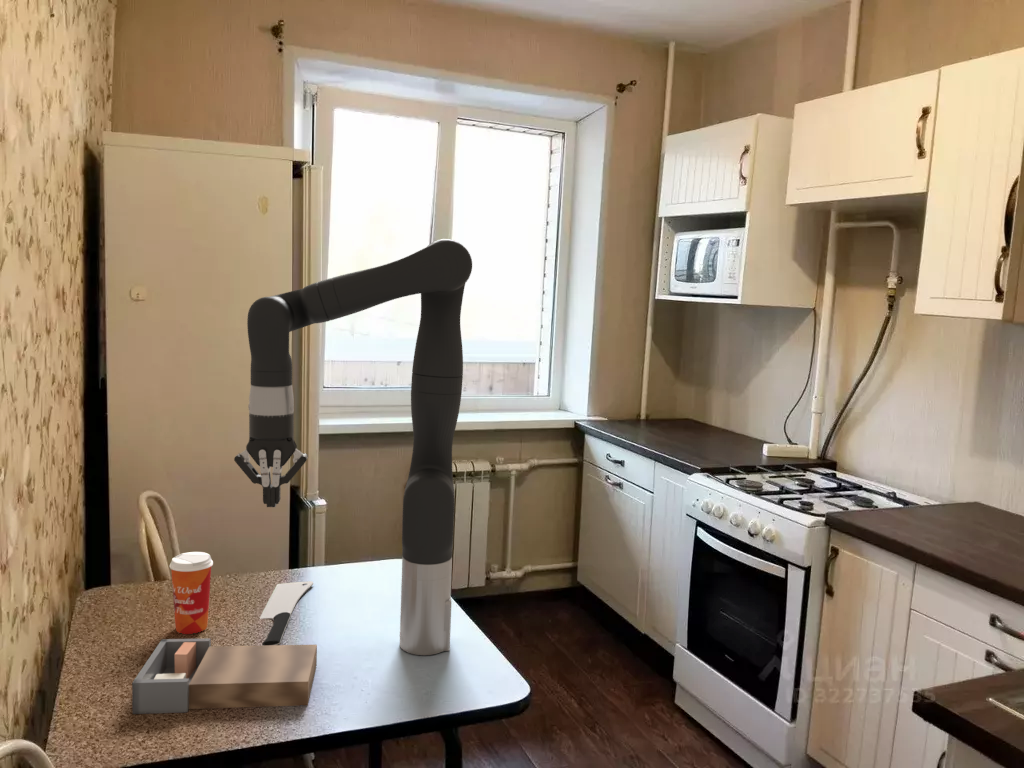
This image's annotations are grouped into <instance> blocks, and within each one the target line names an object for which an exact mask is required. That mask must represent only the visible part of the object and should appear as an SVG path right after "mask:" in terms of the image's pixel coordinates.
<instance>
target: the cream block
mask: <svg viewBox="0 0 1024 768" xmlns="http://www.w3.org/2000/svg"><path fill="white" fill-rule="evenodd" d="M154 679H186V673H171V674H156V676H155V678H154Z"/></svg>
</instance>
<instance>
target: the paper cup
mask: <svg viewBox="0 0 1024 768" xmlns="http://www.w3.org/2000/svg"><path fill="white" fill-rule="evenodd" d="M212 566H214V561H213V560H212V557H211V555H210V554H209V553H207V552H204V551H190V552H189V551H188V552H182V553H180V554H178V555H175V556H174V557H172V559H171V562H170V564H169V569H170V570H171V581H172V583H171V584H172V597H173V598H172V599H173V612H174V623H175V624H174V625H175V630H176V632H177V633H178V632H179V633H178V634H180V633H182V634H181V635H194V634H193V633H195V634H198V632H199V633H202V632H203V630H204V631H205V630H206V629H208V622H209V621H208V620H209V611H210V609H209V607H210V593H211V592H210V589H211V579H212V578H211V575H212ZM201 631H202V632H201Z"/></svg>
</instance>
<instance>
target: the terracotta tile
mask: <svg viewBox="0 0 1024 768" xmlns="http://www.w3.org/2000/svg"><path fill="white" fill-rule="evenodd" d="M195 668H196V642H184V643H183V644H182V645H181V647H180V648H179V649H178V651H177V652H176V653H175V673H186V679H188V678H189V677H190V675H191V674H192V673H193V671H194V670H195Z"/></svg>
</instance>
